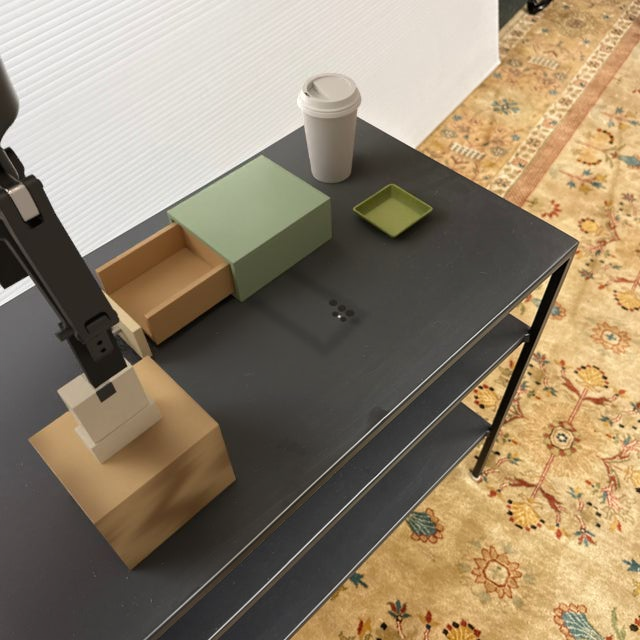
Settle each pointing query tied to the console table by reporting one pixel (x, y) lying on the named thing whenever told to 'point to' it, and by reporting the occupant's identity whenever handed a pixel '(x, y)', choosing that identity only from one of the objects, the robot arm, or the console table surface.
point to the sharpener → (110, 411)
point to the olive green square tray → (392, 210)
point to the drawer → (163, 286)
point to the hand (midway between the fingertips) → (60, 323)
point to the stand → (143, 469)
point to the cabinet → (257, 222)
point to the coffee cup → (330, 124)
